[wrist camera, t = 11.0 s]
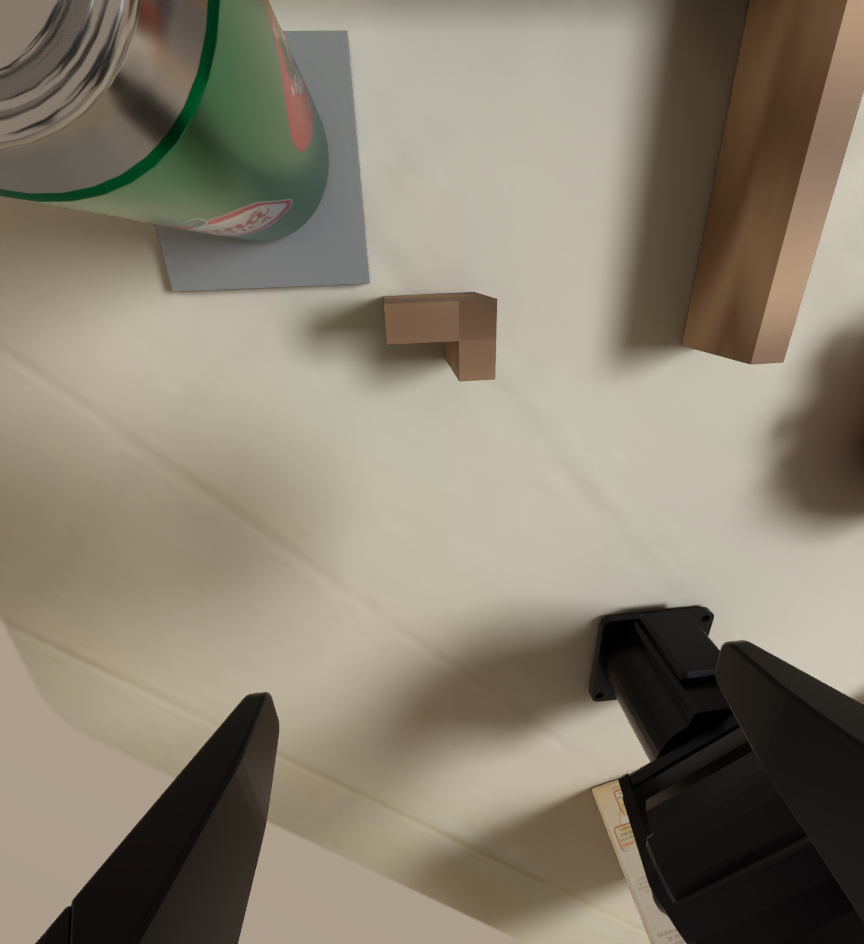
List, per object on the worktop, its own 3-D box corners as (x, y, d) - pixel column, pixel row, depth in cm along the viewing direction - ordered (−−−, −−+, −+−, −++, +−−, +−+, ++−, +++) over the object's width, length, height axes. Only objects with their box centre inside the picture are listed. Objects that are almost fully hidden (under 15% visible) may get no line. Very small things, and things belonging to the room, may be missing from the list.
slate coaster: (370, 282, 17) (369, 283, 16) (179, 290, 16) (172, 291, 16) (348, 39, 14) (347, 31, 13) (115, 41, 13) (103, 31, 13)
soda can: (170, 223, 15) (-396, 112, 4) (165, 30, 13) (-950, -1159, 2) (322, 257, 16) (182, 239, 5) (340, 81, 14) (171, -583, 3)
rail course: (708, 344, 19) (783, 362, 15) (389, 361, 18) (389, 385, 15) (801, -79, 14) (950, -202, 10) (355, -84, 13) (343, -221, 9)
